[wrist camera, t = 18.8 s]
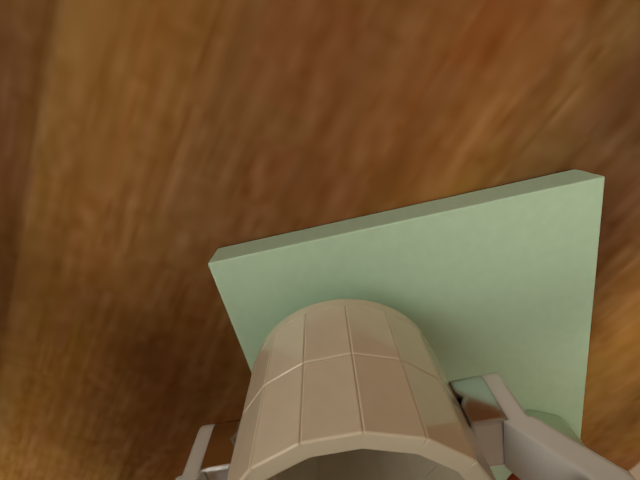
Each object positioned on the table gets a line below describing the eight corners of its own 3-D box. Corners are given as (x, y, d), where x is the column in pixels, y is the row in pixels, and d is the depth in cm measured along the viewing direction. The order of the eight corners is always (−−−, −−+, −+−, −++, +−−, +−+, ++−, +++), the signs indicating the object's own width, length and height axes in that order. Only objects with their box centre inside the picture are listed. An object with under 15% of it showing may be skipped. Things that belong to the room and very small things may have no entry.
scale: (558, 453, 18) (601, 516, 16) (311, 493, 19) (310, 559, 17) (575, 168, 12) (650, 187, 10) (217, 248, 13) (191, 285, 11)
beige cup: (440, 420, 13) (506, 587, 9) (282, 448, 14) (266, 619, 9) (422, 280, 11) (500, 408, 6) (231, 319, 11) (174, 465, 7)
